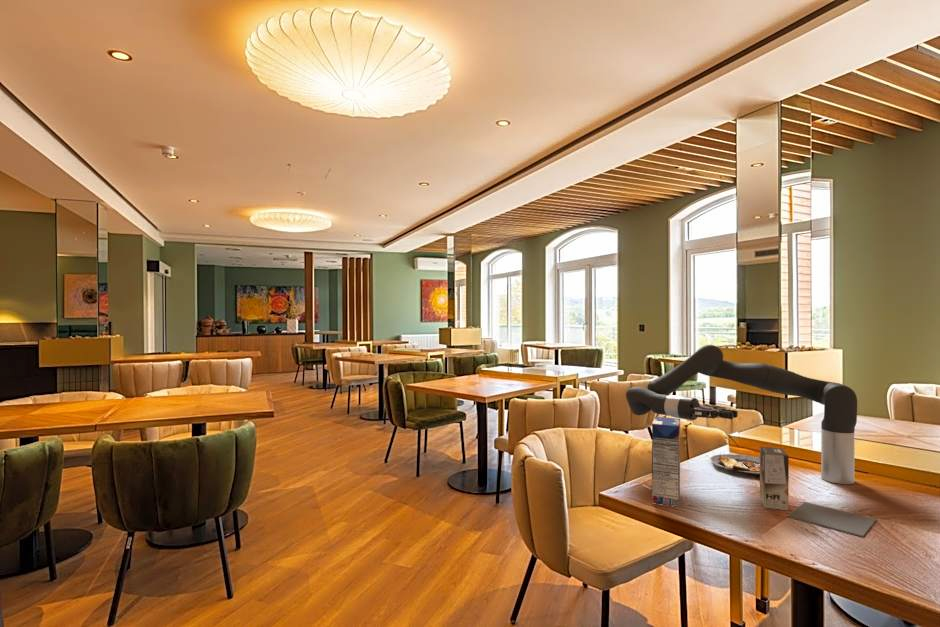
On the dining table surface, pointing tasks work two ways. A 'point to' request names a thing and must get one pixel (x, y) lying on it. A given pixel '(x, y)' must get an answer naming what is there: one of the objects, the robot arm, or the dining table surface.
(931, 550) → the dining table surface
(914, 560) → the dining table surface
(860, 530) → the rubber mat
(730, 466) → the food plate
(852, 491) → the dining table surface
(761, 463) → the coffee box
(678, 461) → the juice carton
